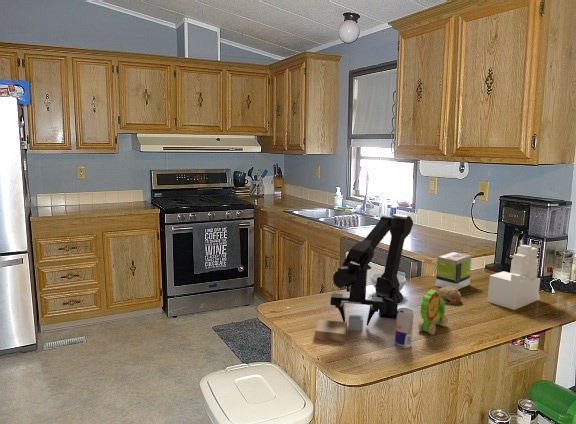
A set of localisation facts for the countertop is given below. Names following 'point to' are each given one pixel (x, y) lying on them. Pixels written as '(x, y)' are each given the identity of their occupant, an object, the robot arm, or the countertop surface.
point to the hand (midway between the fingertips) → (355, 324)
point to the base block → (331, 330)
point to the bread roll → (450, 295)
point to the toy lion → (432, 312)
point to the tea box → (453, 270)
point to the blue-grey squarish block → (355, 322)
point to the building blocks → (516, 281)
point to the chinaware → (376, 275)
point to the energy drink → (404, 328)
